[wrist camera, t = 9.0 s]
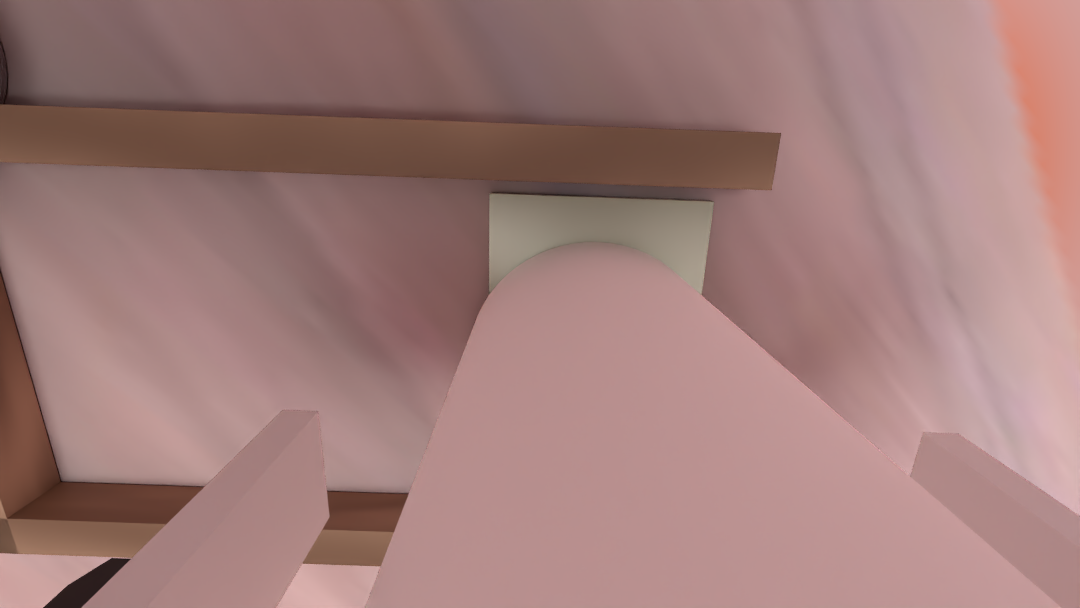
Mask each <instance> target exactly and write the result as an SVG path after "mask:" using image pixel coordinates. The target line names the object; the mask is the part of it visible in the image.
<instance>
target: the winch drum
mask: <svg viewBox="0 0 1080 608" xmlns="http://www.w3.org/2000/svg"><path fill="white" fill-rule="evenodd" d="M6 90H7V67H6V62H5V57H4V53H3V49H2V46H1V43H0V104H3V102H4V100H5V95H6Z"/></svg>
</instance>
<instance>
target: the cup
mask: <svg viewBox="0 0 1080 608" xmlns="http://www.w3.org/2000/svg"><path fill="white" fill-rule="evenodd" d="M365 608H1061V607H1060V606H1059V605H1058V604H1057V603H1055V602H1054V601H1053V600H1052V599H1051V598H1050V597H1049V596H1047V595H1046V594H1045V593H1044V592H1043V591H1042V590H1041V589H1039V588H1038V587H1037V586H1036V585H1035V584H1034V583H1032V582H1031V581H1030V580H1029V579H1028V578H1027V577H1026V576H1024V575H1023V574H1022V573H1021V572H1020V571H1019V570H1017V569H1016V568H1015V567H1014V566H1013V565H1012V564H1011V563H1009V562H1008V561H1007V560H1006V559H1005V558H1004V557H1002V556H1001V555H1000V554H999V553H998V552H997V551H996V550H994V549H993V548H992V547H991V546H990V545H989V544H988V543H986V542H985V541H984V540H983V539H982V538H981V537H979V536H978V535H977V534H976V533H975V532H974V531H973V530H971V529H970V528H969V527H968V526H967V525H966V524H964V523H963V522H962V521H961V520H960V519H959V518H958V517H956V516H955V515H954V514H953V513H952V512H951V511H949V510H948V509H947V508H946V507H945V506H944V505H943V504H941V503H940V502H939V501H938V500H937V499H936V498H935V497H933V496H932V495H931V494H930V493H929V492H928V491H926V490H925V489H924V488H923V487H922V486H921V485H920V484H918V483H917V482H916V481H915V480H914V479H913V478H911V477H910V476H909V475H908V474H907V473H906V472H905V471H903V470H902V469H901V468H900V467H899V466H898V465H896V464H895V463H894V462H893V461H892V460H891V459H890V458H888V457H887V456H886V455H885V454H884V453H883V452H882V451H880V450H879V449H878V448H877V447H876V446H875V445H873V444H872V443H871V442H870V441H869V440H868V439H867V438H865V437H864V436H863V435H862V434H861V433H860V432H858V431H857V430H856V429H855V428H854V427H853V426H852V425H850V424H849V423H848V422H847V421H846V420H845V419H843V418H842V417H841V416H840V415H839V414H838V413H837V412H835V411H834V410H833V409H832V408H831V407H830V406H829V405H827V404H826V403H825V402H824V401H823V400H822V399H820V398H819V397H818V396H817V395H816V394H815V393H814V392H812V391H811V390H810V389H809V388H808V387H807V386H805V385H804V384H803V383H802V382H801V381H800V380H799V379H797V378H796V377H795V376H794V375H793V374H792V373H790V372H789V371H788V370H787V369H786V368H785V367H784V366H782V365H781V364H780V363H779V362H778V361H777V360H776V359H774V358H773V357H772V356H771V355H770V354H769V353H767V352H766V351H765V350H764V349H763V348H762V347H761V346H759V345H758V344H757V343H756V342H755V341H754V340H752V339H751V338H750V337H749V336H748V335H747V334H746V333H744V332H743V331H742V330H741V329H740V328H739V327H737V326H736V325H735V324H734V323H733V322H732V321H731V320H729V319H728V318H727V317H726V316H725V315H724V314H723V313H721V312H720V311H719V310H718V309H717V308H716V307H714V306H713V305H712V304H711V303H710V302H709V301H708V300H706V299H705V298H704V297H703V296H702V295H701V294H699V293H698V292H697V291H696V290H695V289H694V288H693V287H691V286H690V285H689V284H688V283H687V282H686V281H684V280H683V279H682V278H681V277H680V276H679V275H678V274H676V273H675V272H674V271H673V270H672V269H670V268H669V267H668V266H667V265H665V264H664V263H662V262H661V261H659V260H658V259H656V258H654V257H652V256H650V255H648V254H646V253H644V252H641V251H639V250H637V249H634V248H630V247H627V246H623V245H618V244H613V243H604V242H582V243H573V244H568V245H563V246H559V247H556V248H553V249H549V250H547V251H544V252H542V253H540V254H537V255H535V256H534V257H532V258H530V259H528V260H526V261H525V262H523V263H522V264H520V265H519V266H517V267H516V268H515V269H513V270H512V271H511V272H510V273H508V274H507V275H506V276H505V277H504V278H503V279H502V280H501V281H500V282H499V283H498V284H497V285H496V287H495V288H494V289H493V290H492V292H491V293H490V294H489V296H488V297H487V299H486V300H485V302H484V304H483V306H482V308H481V310H480V311H479V313H478V316H477V319H476V321H475V324H474V326H473V329H472V331H471V334H470V337H469V339H468V342H467V344H466V347H465V350H464V352H463V355H462V357H461V360H460V363H459V365H458V368H457V370H456V373H455V375H454V378H453V381H452V383H451V386H450V388H449V391H448V394H447V396H446V399H445V401H444V404H443V407H442V409H441V412H440V414H439V417H438V419H437V422H436V425H435V427H434V430H433V432H432V435H431V438H430V440H429V443H428V445H427V448H426V451H425V453H424V456H423V458H422V461H421V464H420V466H419V469H418V471H417V474H416V476H415V479H414V482H413V484H412V487H411V489H410V492H409V495H408V497H407V500H406V502H405V505H404V508H403V510H402V513H401V515H400V518H399V520H398V523H397V526H396V528H395V531H394V533H393V536H392V539H391V541H390V544H389V546H388V549H387V552H386V554H385V557H384V559H383V562H382V564H381V567H380V570H379V572H378V575H377V577H376V580H375V583H374V585H373V588H372V590H371V593H370V596H369V598H368V601H367V603H366V606H365Z"/></svg>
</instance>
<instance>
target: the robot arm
mask: <svg viewBox="0 0 1080 608" xmlns="http://www.w3.org/2000/svg"><path fill="white" fill-rule="evenodd" d="M910 477H911V478H913V479H914V480H915V481H916V482H917V483H918V484H920V485H921V486H922V487H923V488H924V489H925V490H926V491H928V492H929V493H930V494H931V495H932V496H933V497H935V498H936V499H937V500H938V501H939V502H940V503H941V504H943V505H944V506H945V507H946V508H947V509H948V510H949V511H951V512H952V513H953V514H954V515H955V516H956V517H958V518H959V519H960V520H961V521H962V522H963V523H964V524H966V525H967V526H968V527H969V528H970V529H971V530H973V531H974V532H975V533H976V534H977V535H978V536H979V537H981V538H982V539H983V540H984V541H985V542H986V543H988V544H989V545H990V546H991V547H992V548H993V549H994V550H996V551H997V552H998V553H999V554H1000V555H1001V556H1002V557H1004V558H1005V559H1006V560H1007V561H1008V562H1009V563H1011V564H1012V565H1013V566H1014V567H1015V568H1016V569H1017V570H1019V571H1020V572H1021V573H1022V574H1023V575H1024V576H1026V577H1027V578H1028V579H1029V580H1030V581H1031V582H1032V583H1034V584H1035V585H1036V586H1037V587H1038V588H1039V589H1041V590H1042V591H1043V592H1044V593H1045V594H1046V595H1047V596H1049V597H1050V598H1051V599H1052V600H1053V601H1054V602H1055V603H1057V604H1058V605H1059V606H1060V607H1061V608H1080V516H1079V515H1078V514H1076V513H1075V512H1073V511H1072V510H1070V509H1069V508H1067V507H1066V506H1064V505H1063V504H1062V503H1060V502H1059V501H1057V500H1056V499H1054V498H1053V497H1051V496H1050V495H1048V494H1047V493H1045V492H1044V491H1042V490H1041V489H1039V488H1038V487H1036V486H1035V485H1033V484H1032V483H1031V482H1029V481H1028V480H1026V479H1025V478H1023V477H1022V476H1020V475H1019V474H1017V473H1016V472H1014V471H1013V470H1011V469H1010V468H1008V467H1007V466H1005V465H1004V464H1002V463H1001V462H999V461H998V460H997V459H995V458H994V457H992V456H991V455H989V454H988V453H986V452H985V451H983V450H982V449H980V448H979V447H977V446H976V445H974V444H973V443H971V442H970V441H968V440H967V439H965V438H964V437H963V436H961V435H960V434H953V433H925V432H923V435H922V438H921V441H920V445H919V448H918V452H917V455H916V458H915V462H914V465H913V469H912V472H911V475H910ZM329 517H330V516H329V507H328V497H327V488H326V479H325V469H324V460H323V450H322V441H321V432H320V422H319V413H318V411H301V410H282V411H281V412H280V413H279V414H278V415H277V416H276V417H275V418H274V419H273V420H272V421H271V422H270V423H269V424H268V425H267V426H266V427H265V428H264V429H263V430H262V431H261V432H260V433H259V434H258V435H257V436H256V437H255V438H254V439H253V440H252V441H251V442H250V443H249V444H248V445H247V446H246V447H245V448H244V449H243V450H241V451H240V452H239V453H238V454H237V455H236V456H235V457H234V458H233V459H232V460H231V461H230V462H229V463H228V464H227V465H226V466H225V467H224V468H223V469H222V470H221V471H220V472H219V473H218V474H217V475H216V476H215V477H214V478H213V479H212V480H211V481H210V482H209V483H208V484H207V485H206V486H205V487H204V488H203V489H202V490H201V491H200V492H199V493H198V494H197V495H196V496H195V497H194V498H193V499H192V500H191V501H190V502H189V503H188V504H186V505H185V506H184V507H183V508H182V509H181V510H180V511H179V512H178V513H177V514H176V515H175V516H174V517H173V518H172V519H171V520H170V521H169V522H168V523H167V524H166V525H165V526H164V527H163V528H162V529H161V530H160V531H159V532H158V533H157V534H156V535H155V536H154V537H153V538H152V539H151V540H150V541H149V542H148V543H147V544H146V545H145V546H144V547H143V548H142V549H141V550H140V551H139V552H138V553H137V554H136V555H135V556H134V557H133V558H131V559H120V558H111V559H110V560H108V561H106V562H105V563H103V564H101V565H100V566H98V567H97V568H95V569H93V570H92V571H90V572H89V573H87V574H85V575H84V576H82V577H81V578H79V579H77V580H76V581H74V582H72V583H71V584H69V585H68V586H67V587H65V588H64V589H63V590H62V591H61V592H60V593H59V594H58V595H57V596H56V597H54V598H53V599H52V600H51V601H50V602H49V603H48V604H47V605H46V606H45V607H43V608H276V607H277V605H278V604H279V602H280V600H281V598H282V597H283V595H284V593H285V592H286V590H287V588H288V587H289V585H290V583H291V582H292V580H293V578H294V576H295V575H296V573H297V571H298V570H299V568H300V566H301V565H302V563H303V561H304V559H305V558H306V556H307V554H308V553H309V551H310V549H311V548H312V546H313V544H314V543H315V541H316V539H317V537H318V536H319V534H320V532H321V531H322V529H323V527H324V526H325V524H326V522H327V521H328V519H329Z"/></svg>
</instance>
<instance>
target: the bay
mask: <svg viewBox="0 0 1080 608" xmlns="http://www.w3.org/2000/svg"><path fill="white" fill-rule="evenodd" d="M780 137H781V133H764V132H736V131H709V130H682V129H655V128H628V127H601V126H573V125H546V124H519V123H492V122H465V121H438V120H410V119H383V118H356V117H329V116H302V115H275V114H247V113H220V112H193V111H166V110H139V109H112V108H84V107H57V106H30V105H3V104H0V162H12V163H39V164H67V165H94V166H122V167H149V168H176V169H204V170H231V171H258V172H286V173H313V174H341V175H368V176H395V177H423V178H450V179H477V180H505V181H532V182H560V183H587V184H614V185H642V186H669V187H697V188H724V189H751V190H772V185H773V179H774V173H775V167H776V161H777V155H778V149H779V143H780ZM713 207H714V202H713V201H704V200H677V199H650V198H622V197H595V196H567V195H540V194H512V193H490V194H489V294H490V293H491V292H492V290H493V289H494V288H495V287H496V285H497V284H498V283H499V282H500V281H501V280H502V279H503V278H504V277H505V276H506V275H507V274H508V273H510V272H511V271H512V270H513V269H515V268H516V267H517V266H519V265H520V264H522V263H523V262H525V261H526V260H528V259H530V258H532V257H534V256H535V255H537V254H540V253H542V252H544V251H547V250H549V249H553V248H556V247H559V246H563V245H568V244H573V243H582V242H604V243H613V244H618V245H623V246H627V247H630V248H634V249H637V250H639V251H641V252H644V253H646V254H648V255H650V256H652V257H654V258H656V259H658V260H659V261H661V262H662V263H664V264H665V265H667V266H668V267H669V268H670V269H672V270H673V271H674V272H675V273H676V274H678V275H679V276H680V277H681V278H682V279H683V280H684V281H686V282H687V283H688V284H689V285H690V286H691V287H693V288H694V289H695V290H696V291H697V292H698V293H699V294H701V295H702V289H703V281H704V274H705V266H706V259H707V252H708V244H709V237H710V229H711V222H712V214H713ZM203 488H204V487H187V486H158V485H130V484H101V483H72V482H60V478H59V475H58V471H57V468H56V464H55V461H54V457H53V454H52V450H51V447H50V443H49V440H48V436H47V433H46V430H45V426H44V423H43V419H42V416H41V412H40V409H39V405H38V402H37V398H36V395H35V391H34V388H33V384H32V381H31V378H30V374H29V371H28V367H27V364H26V360H25V357H24V353H23V350H22V346H21V343H20V339H19V336H18V332H17V329H16V325H15V322H14V319H13V315H12V312H11V308H10V305H9V301H8V298H7V294H6V291H5V287H4V284H3V280H2V277H1V273H0V553H12V554H41V555H69V556H98V557H127V558H133V557H134V556H135V555H136V554H137V553H138V552H139V551H140V550H141V549H142V548H143V547H144V546H145V545H146V544H147V543H148V542H149V541H150V540H151V539H152V538H153V537H154V536H155V535H156V534H157V533H158V532H159V531H160V530H161V529H162V528H163V527H164V526H165V525H166V524H167V523H168V522H169V521H170V520H171V519H172V518H173V517H174V516H175V515H176V514H177V513H178V512H179V511H180V510H181V509H182V508H183V507H184V506H185V505H186V504H188V503H189V502H190V501H191V500H192V499H193V498H194V497H195V496H196V495H197V494H198V493H199V492H200V491H201V490H202V489H203ZM408 495H409V494H387V493H359V492H330V491H327V497H328V507H329V516H330V517H329V519H328V521H327V522H326V524H325V526H324V527H323V529H322V531H321V532H320V534H319V536H318V537H317V539H316V541H315V543H314V544H313V546H312V548H311V549H310V551H309V553H308V554H307V556H306V558H305V559H304V561H303V563H302V564H330V565H359V566H381V564H382V562H383V559H384V557H385V554H386V552H387V549H388V546H389V544H390V541H391V539H392V536H393V533H394V531H395V528H396V526H397V523H398V520H399V518H400V515H401V513H402V510H403V508H404V505H405V502H406V500H407V497H408Z"/></svg>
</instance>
